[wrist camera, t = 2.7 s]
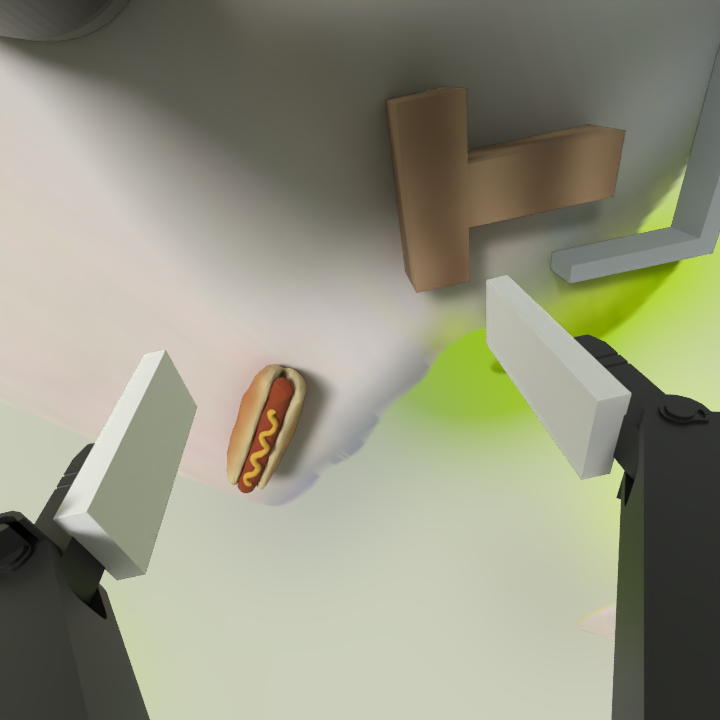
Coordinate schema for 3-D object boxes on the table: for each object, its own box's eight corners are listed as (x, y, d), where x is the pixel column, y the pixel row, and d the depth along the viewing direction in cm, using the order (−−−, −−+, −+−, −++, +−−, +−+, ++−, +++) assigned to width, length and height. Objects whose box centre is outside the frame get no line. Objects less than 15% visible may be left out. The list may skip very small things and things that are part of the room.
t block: (405, 271, 33) (416, 292, 30) (385, 99, 27) (397, 102, 23) (573, 235, 33) (603, 253, 30) (597, 54, 27) (639, 51, 23)
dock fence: (550, 269, 35) (569, 283, 32) (572, 50, 26) (601, 47, 24) (683, 240, 35) (712, 253, 32) (750, 12, 26) (796, 5, 24)
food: (275, 464, 44) (272, 503, 40) (222, 455, 43) (214, 495, 39) (316, 362, 38) (318, 397, 34) (256, 347, 36) (250, 382, 32)
